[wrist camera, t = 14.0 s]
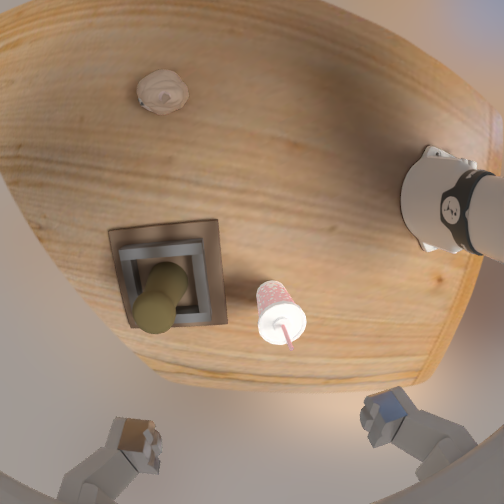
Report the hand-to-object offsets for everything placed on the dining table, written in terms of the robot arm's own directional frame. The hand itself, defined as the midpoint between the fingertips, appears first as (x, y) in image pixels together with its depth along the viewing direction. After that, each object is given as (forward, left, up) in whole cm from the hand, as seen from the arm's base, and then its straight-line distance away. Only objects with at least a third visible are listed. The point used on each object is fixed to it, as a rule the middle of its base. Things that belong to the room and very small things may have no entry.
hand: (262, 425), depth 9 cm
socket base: (+10, +6, -31) cm, 33 cm away
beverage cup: (-5, +10, -31) cm, 33 cm away
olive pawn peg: (+10, +6, -30) cm, 32 cm away
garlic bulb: (+8, -20, -31) cm, 38 cm away
